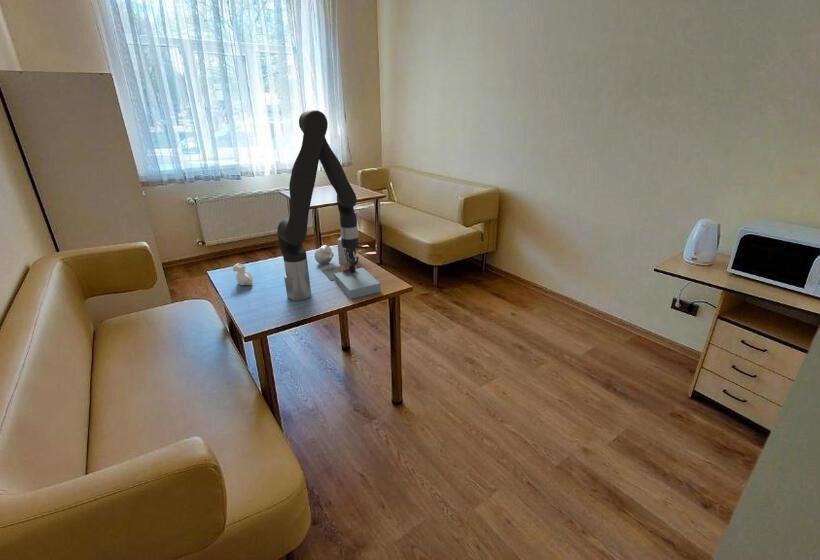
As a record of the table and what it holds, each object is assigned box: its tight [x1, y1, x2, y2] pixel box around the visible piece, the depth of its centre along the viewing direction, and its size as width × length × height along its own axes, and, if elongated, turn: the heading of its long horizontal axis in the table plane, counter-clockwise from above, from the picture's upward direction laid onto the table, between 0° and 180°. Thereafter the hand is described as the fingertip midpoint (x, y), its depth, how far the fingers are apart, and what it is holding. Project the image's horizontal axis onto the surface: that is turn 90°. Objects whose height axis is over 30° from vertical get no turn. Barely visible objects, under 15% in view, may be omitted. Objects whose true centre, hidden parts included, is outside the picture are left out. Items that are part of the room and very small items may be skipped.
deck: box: [334, 267, 381, 300], centre depth 183 cm, size 20×14×4 cm
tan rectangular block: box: [337, 263, 358, 272], centre depth 191 cm, size 9×6×3 cm
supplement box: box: [336, 236, 357, 265], centre depth 209 cm, size 7×7×13 cm
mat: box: [321, 265, 360, 282], centre depth 198 cm, size 14×17×1 cm
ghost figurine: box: [314, 244, 335, 266], centre depth 206 cm, size 9×10×10 cm
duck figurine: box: [232, 262, 253, 286], centre depth 186 cm, size 12×8×11 cm
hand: (352, 272), depth 185 cm, fingers closed
